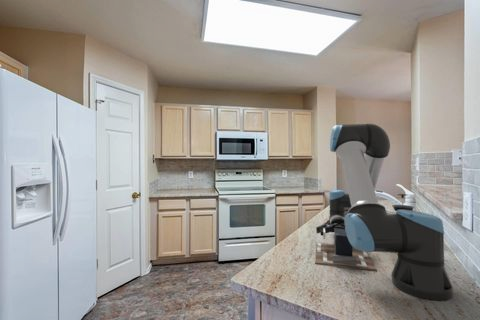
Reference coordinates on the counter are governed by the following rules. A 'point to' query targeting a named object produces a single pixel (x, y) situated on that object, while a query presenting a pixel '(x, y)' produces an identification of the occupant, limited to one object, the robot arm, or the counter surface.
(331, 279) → the counter surface
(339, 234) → the small box
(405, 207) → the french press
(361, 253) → the keyhole plate
